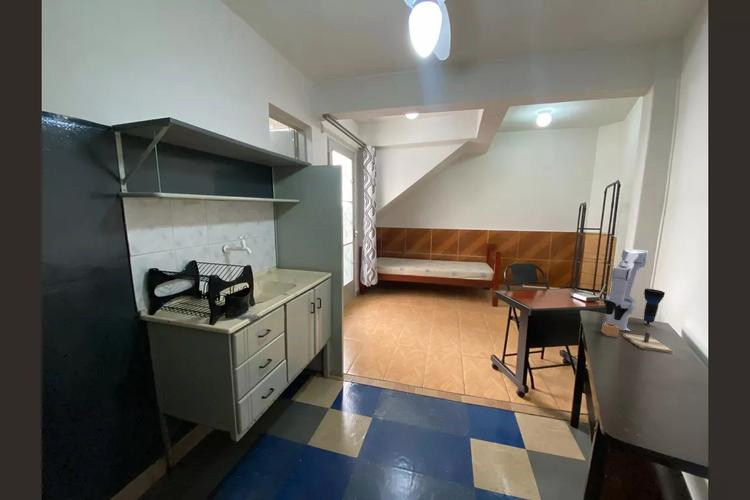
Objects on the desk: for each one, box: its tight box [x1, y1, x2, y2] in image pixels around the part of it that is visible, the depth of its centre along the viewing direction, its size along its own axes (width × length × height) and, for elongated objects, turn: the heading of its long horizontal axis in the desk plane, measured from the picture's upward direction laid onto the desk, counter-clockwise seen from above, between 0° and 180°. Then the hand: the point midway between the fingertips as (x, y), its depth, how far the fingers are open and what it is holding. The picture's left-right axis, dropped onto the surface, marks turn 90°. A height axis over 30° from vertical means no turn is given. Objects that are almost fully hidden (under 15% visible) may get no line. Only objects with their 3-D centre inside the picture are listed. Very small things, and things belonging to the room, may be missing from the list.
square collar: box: [600, 321, 621, 338], centre depth 142 cm, size 5×5×5 cm
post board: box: [622, 331, 673, 354], centre depth 133 cm, size 14×12×6 cm
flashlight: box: [643, 288, 665, 325], centre depth 156 cm, size 8×8×20 cm
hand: (613, 317), depth 141 cm, fingers open, 7 cm apart
